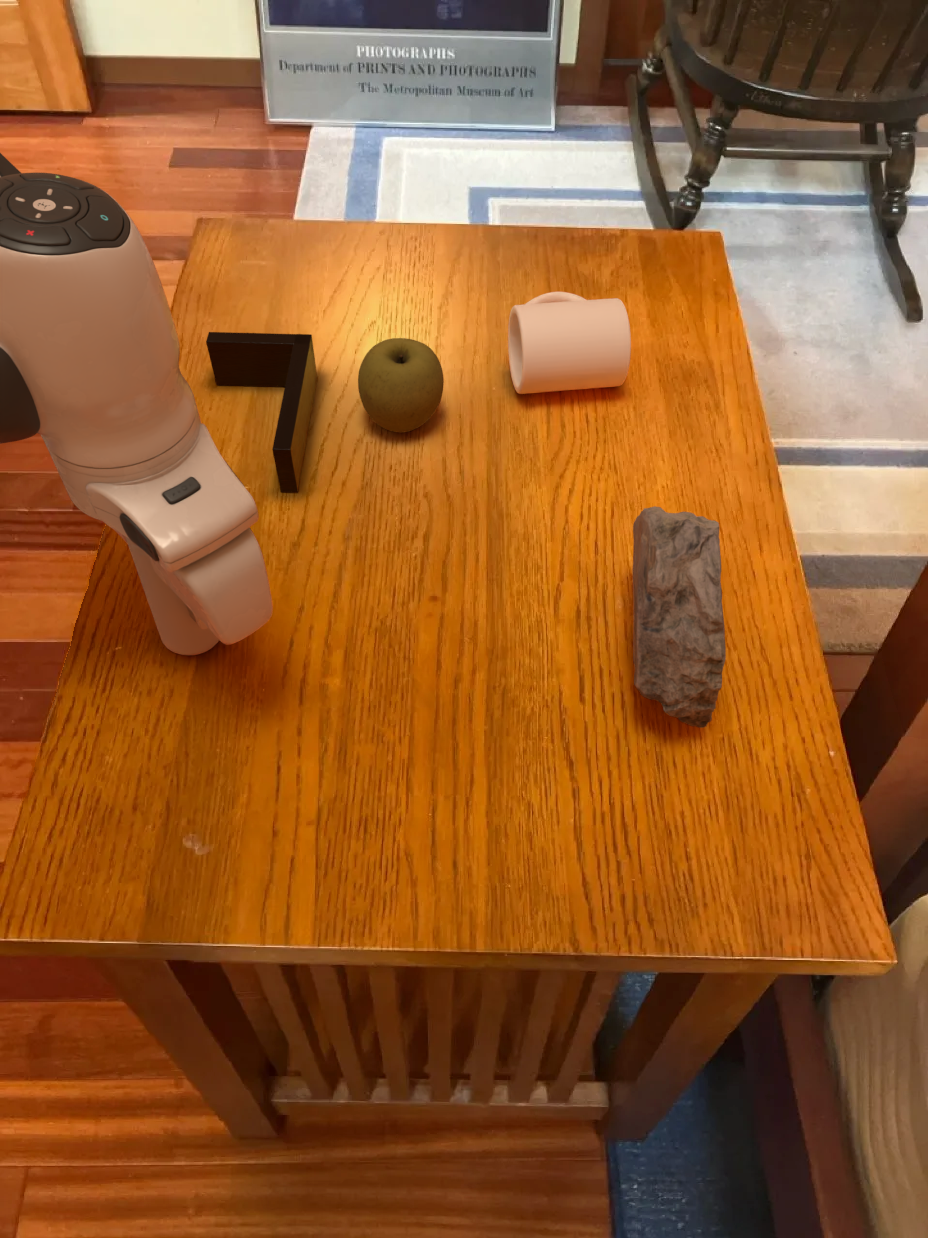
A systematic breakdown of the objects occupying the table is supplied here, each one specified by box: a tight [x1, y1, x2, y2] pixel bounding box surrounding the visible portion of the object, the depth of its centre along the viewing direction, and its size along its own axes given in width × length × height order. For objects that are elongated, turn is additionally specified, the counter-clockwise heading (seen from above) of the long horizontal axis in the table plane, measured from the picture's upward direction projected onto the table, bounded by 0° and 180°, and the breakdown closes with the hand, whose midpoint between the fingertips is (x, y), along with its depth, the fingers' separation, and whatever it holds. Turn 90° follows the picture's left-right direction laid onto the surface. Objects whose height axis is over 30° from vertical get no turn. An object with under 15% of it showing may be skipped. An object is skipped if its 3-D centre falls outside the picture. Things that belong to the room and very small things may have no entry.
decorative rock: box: [632, 505, 727, 729], centre depth 65 cm, size 16×7×15 cm, turn 173°
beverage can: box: [126, 537, 220, 656], centre depth 66 cm, size 5×5×12 cm
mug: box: [507, 291, 632, 395], centre depth 88 cm, size 12×10×8 cm
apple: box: [357, 337, 445, 433], centre depth 84 cm, size 8×8×7 cm
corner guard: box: [205, 331, 318, 493], centre depth 83 cm, size 10×16×5 cm, turn 179°
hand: (183, 594), depth 68 cm, fingers closed on beverage can, 5 cm apart
